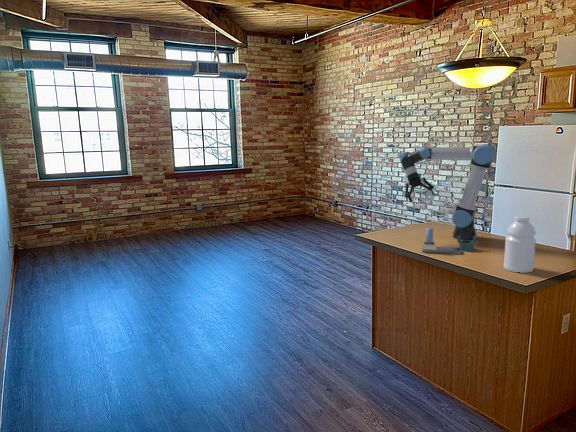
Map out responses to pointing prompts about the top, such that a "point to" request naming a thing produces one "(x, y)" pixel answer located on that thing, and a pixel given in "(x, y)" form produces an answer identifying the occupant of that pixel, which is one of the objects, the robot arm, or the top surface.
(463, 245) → the bracket
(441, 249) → the rail
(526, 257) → the bottle
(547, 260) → the top surface
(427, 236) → the peg
